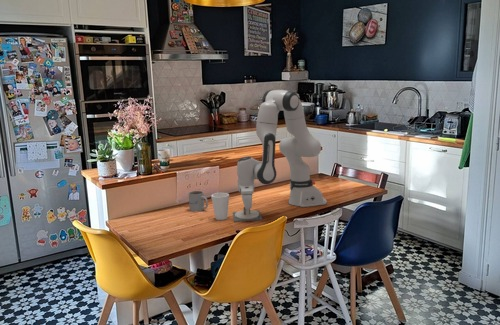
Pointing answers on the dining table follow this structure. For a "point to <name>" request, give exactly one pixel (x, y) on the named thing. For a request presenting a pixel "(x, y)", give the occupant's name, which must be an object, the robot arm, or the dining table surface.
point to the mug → (197, 201)
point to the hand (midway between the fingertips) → (246, 211)
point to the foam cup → (220, 205)
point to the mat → (246, 219)
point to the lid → (243, 215)
